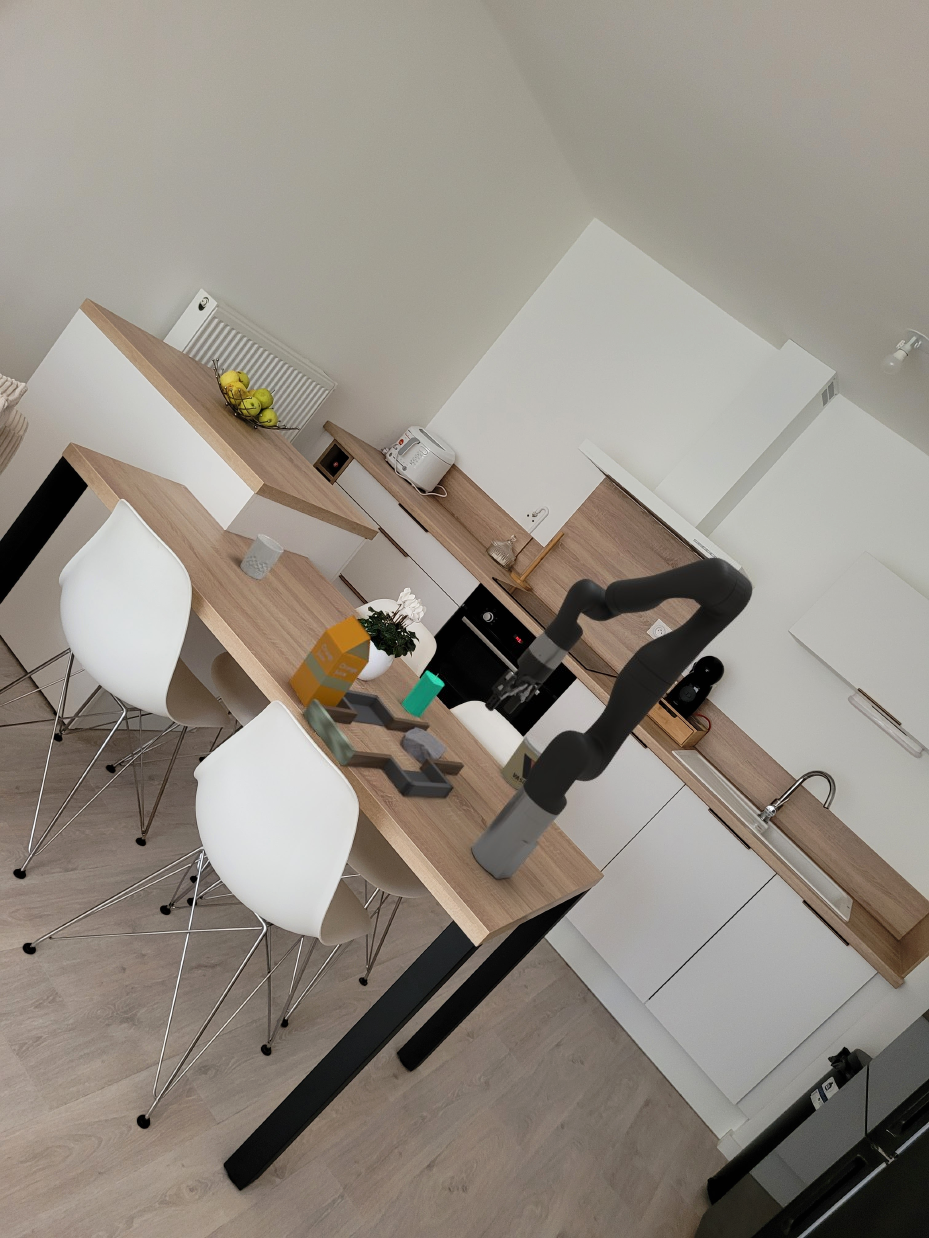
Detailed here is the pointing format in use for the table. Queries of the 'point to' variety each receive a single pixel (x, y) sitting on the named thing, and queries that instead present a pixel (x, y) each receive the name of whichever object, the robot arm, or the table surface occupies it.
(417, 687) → the candle
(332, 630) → the orange juice
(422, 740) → the stone block
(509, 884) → the table surface
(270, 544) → the white cup
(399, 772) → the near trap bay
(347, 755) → the corridor
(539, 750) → the beige canister
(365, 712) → the tray
